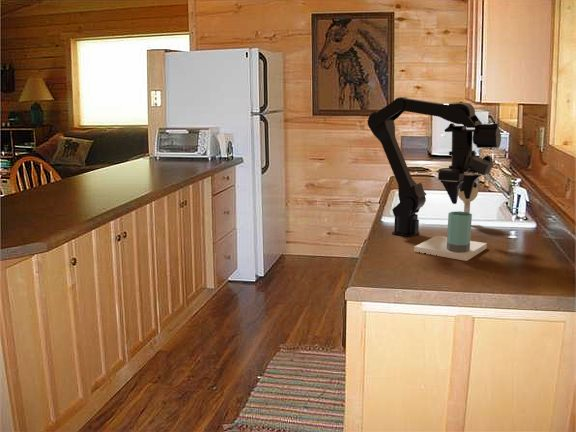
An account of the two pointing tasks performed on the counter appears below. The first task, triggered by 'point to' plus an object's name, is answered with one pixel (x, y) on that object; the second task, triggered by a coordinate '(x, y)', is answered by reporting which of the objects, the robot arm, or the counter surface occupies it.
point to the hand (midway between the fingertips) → (461, 201)
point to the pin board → (439, 248)
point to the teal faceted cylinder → (459, 231)
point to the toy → (467, 201)
